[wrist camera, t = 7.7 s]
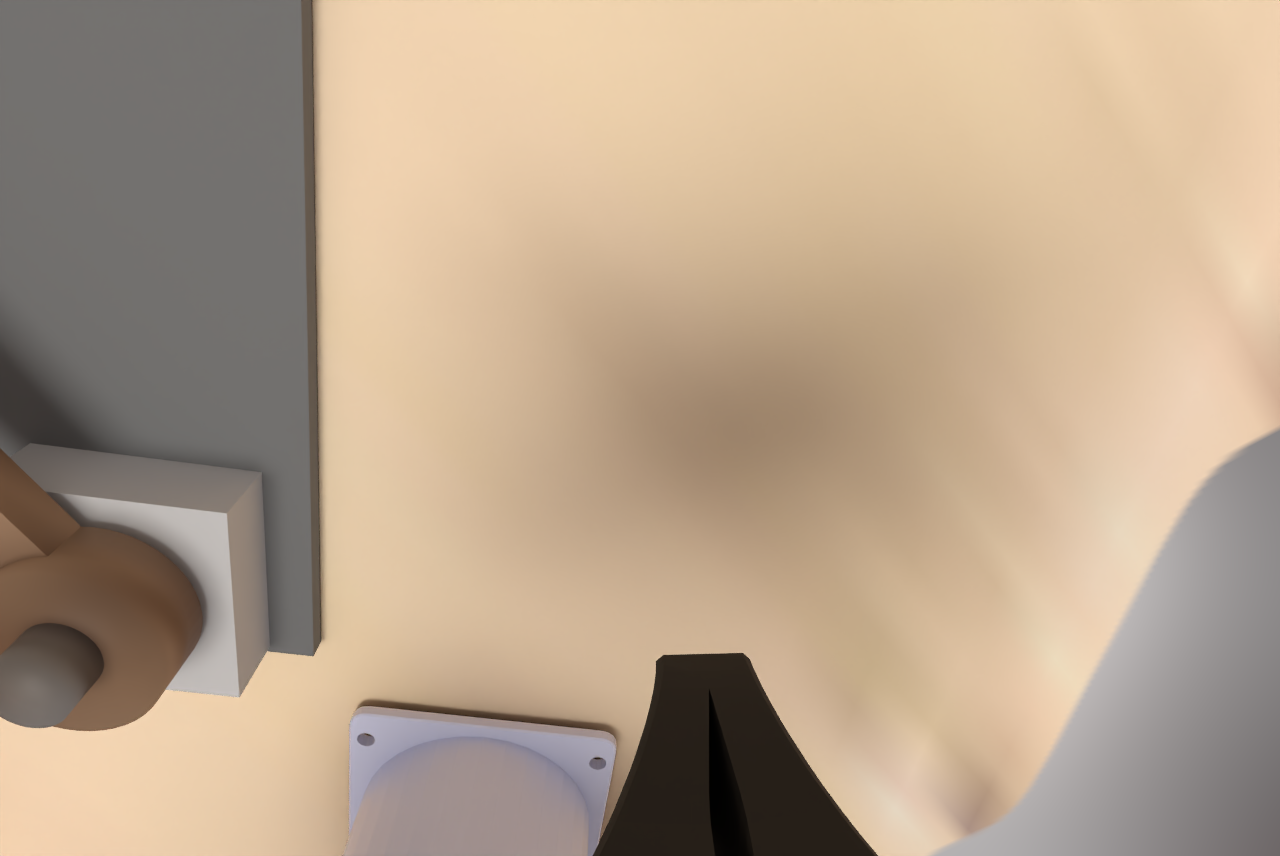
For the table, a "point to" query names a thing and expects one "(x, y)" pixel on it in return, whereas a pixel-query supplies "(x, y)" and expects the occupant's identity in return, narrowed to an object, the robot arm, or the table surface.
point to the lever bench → (169, 297)
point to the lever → (83, 616)
